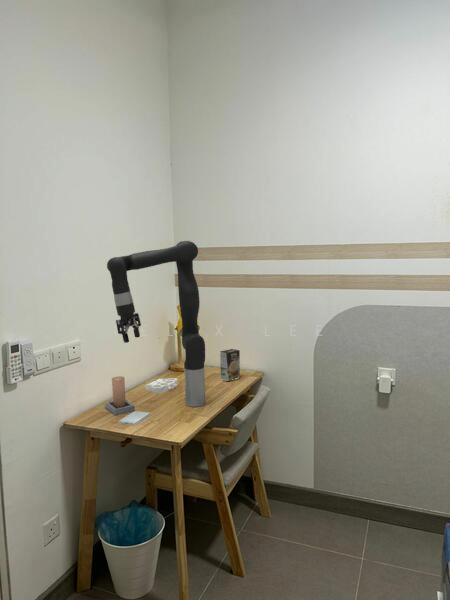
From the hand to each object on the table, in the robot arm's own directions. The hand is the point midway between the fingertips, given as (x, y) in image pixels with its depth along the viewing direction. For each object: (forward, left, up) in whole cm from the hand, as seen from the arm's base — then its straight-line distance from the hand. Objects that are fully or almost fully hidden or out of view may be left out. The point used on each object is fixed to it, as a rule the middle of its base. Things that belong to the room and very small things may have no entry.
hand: (132, 339), depth 193 cm
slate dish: (-4, -10, -33) cm, 35 cm away
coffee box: (-59, +28, -34) cm, 73 cm away
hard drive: (+6, +2, -34) cm, 35 cm away
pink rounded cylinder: (-4, -10, -33) cm, 34 cm away
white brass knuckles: (-38, -4, -34) cm, 51 cm away
